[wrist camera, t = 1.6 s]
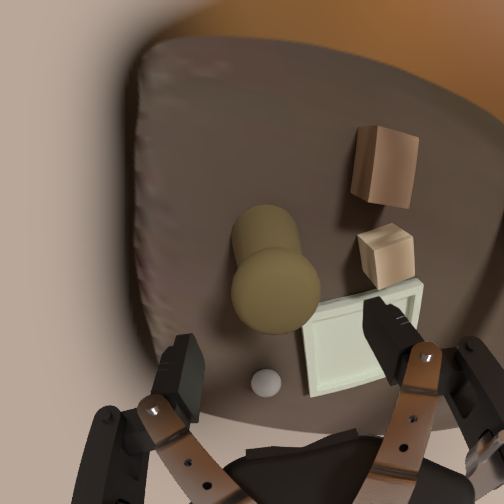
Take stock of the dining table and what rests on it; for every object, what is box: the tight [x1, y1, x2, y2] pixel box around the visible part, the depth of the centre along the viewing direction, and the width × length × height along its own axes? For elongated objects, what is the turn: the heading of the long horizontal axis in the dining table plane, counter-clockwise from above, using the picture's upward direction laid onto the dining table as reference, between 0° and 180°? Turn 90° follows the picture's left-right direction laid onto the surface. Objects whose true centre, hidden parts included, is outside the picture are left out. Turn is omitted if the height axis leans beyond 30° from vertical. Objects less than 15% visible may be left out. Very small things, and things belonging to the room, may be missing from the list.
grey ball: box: [251, 369, 281, 397], centre depth 29 cm, size 4×4×4 cm
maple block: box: [357, 223, 415, 290], centre depth 23 cm, size 4×4×4 cm
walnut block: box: [350, 126, 419, 209], centre depth 20 cm, size 4×6×4 cm, turn 176°
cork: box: [231, 204, 320, 335], centre depth 19 cm, size 6×6×11 cm
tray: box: [301, 278, 424, 397], centre depth 29 cm, size 14×14×2 cm
